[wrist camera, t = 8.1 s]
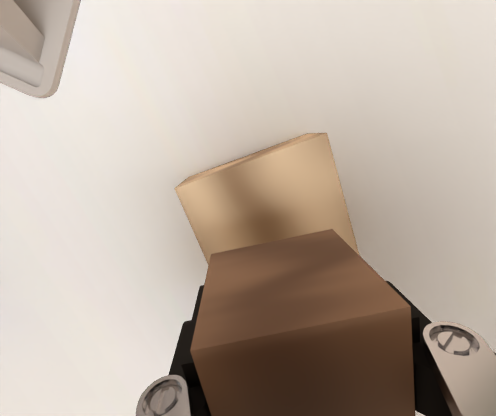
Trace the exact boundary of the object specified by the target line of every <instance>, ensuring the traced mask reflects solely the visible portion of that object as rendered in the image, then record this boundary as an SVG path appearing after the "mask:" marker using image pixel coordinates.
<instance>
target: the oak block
mask: <svg viewBox="0 0 496 416" xmlns="http://www.w3.org/2000/svg"><path fill="white" fill-rule="evenodd" d="M175 190H176V193H177V195H178V197H179V199H180V202H181V204H182V206H183V209H184V211H185V213H186V215H187V218H188V220H189V222H190V224H191V227H192V229H193V231H194V233H195V236H196V238H197V240H198V242H199V245H200V247H201V249H202V252H203V254H204V256H205V258H206V261H207V263H208V265H209V261H210V257H211V254H213V253H218V252H223V251H228V250H233V249H237V248H242V247H247V246H252V245H257V244H262V243H266V242H271V241H276V240H281V239H286V238H290V237H295V236H300V235H305V234H310V233H315V232H319V231H324V230H329V229H333V230H334V231H335V232H336V233H337V234H338V235H339V236H340V237H341V238H342V239H343V240H344V241H345V242H346V243H347V244H348V245H349V246H350V247H351V248H352V249H353V250H354V251H355V252H356V253H357V254H358V255H359V252H358V249H357V245H356V241H355V237H354V233H353V230H352V226H351V222H350V218H349V215H348V211H347V207H346V203H345V200H344V196H343V192H342V188H341V185H340V181H339V177H338V173H337V170H336V166H335V162H334V158H333V154H332V151H331V147H330V143H329V139H328V136H327V133H311V134H305V135H302V136H300V137H297V138H294V139H291V140H289V141H286V142H283V143H281V144H278V145H275V146H272V147H270V148H267V149H264V150H261V151H259V152H256V153H253V154H251V155H248V156H245V157H242V158H240V159H237V160H234V161H231V162H229V163H226V164H223V165H221V166H218V167H215V168H212V169H210V170H207V171H204V172H201V173H199V174H196V175H193V176H190V177H188V178H187V179H186V180H185V181H183V182H182V183H181V184H180V185H178V186H177V187H176V188H175Z"/></svg>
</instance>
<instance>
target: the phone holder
mask: <svg viewBox="0 0 496 416" xmlns="http://www.w3.org/2000/svg"><path fill="white" fill-rule="evenodd" d="M80 1H81V0H0V83H2V84H5V85H7V86H9V87H11V88H14V89H16V90H18V91H20V92H23V93H25V94H27V95H30V96H34V97H40V98H46V97H50V96H52V95H53V94H54V93H55V92H56V91H57V89H58V86H59V83H60V79H61V75H62V71H63V67H64V63H65V59H66V55H67V52H68V48H69V44H70V40H71V36H72V32H73V28H74V24H75V21H76V17H77V13H78V9H79V5H80Z"/></svg>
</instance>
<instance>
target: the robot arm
mask: <svg viewBox="0 0 496 416" xmlns="http://www.w3.org/2000/svg"><path fill="white" fill-rule="evenodd" d="M385 282H386V283H388V284H389V285H390V286H391V287H392V288H393V289H394V290H395V291H396V292H397V293H398V294H399V295H400V296H401V297H402V298H403V299H404V300H405V301H406V302H407V303H408V304H409V305H410V306H411V326H412V349H413V373H414V396H415V410H416V411H417V412H419V413H421V414H423V415H425V416H496V353H494V352H493V351H492V350H491V349H490V347H489V346H488V345H487V343H486V342H485V341H484V339H483V338H482V337H481V336H480V335H479V334H477V333H476V332H474V331H473V330H471V329H470V328H467V327H465V326H463V325H460V324H456V323H453V322H444V321H440V322H433V323H432V322H431V321H430V320H429V319H428V318H426V317H425V316H424V315H423V314H422V313H421V312H420V311H419V310H418V309H417V308H416V307H415V306H414V305H413V304H412V303H411V302H410V301H409V300H408V299H407V298H406V297H405V296H404V295H403V294H402V293H401V292H400V291H399V290H398V289H397V288H395V287H394V286H393V285H392V284H391V283H390V282H389V281H385ZM203 289H204V285H202V286H200V288H199V292H198V296H197V300H196V304H195V309H194V313H193V317H192V320H191V321H186V322H184V323H183V326H182V329H181V333H180V336H179V340H178V343H177V347H176V351H175V354H174V358H173V361H172V365H171V368H170V372H169V375H168V376H164V377H161V378H160V379H158V380H156V381H154V382H153V383H152V384H151V385H150V386H148V387H147V389H146V390H145V391H144V392H143V393H142V395H141V397H140V399H139V401H138V405H137V409H136V416H211V413H210V410H209V407H208V404H207V401H206V398H205V395H204V392H203V388H202V385H201V382H200V379H199V376H198V373H197V370H196V367H195V364H194V361H193V358H192V355H191V352H190V349H191V345H192V340H193V335H194V331H195V326H196V322H197V317H198V312H199V308H200V303H201V298H202V294H203Z"/></svg>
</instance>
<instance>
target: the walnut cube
mask: <svg viewBox="0 0 496 416" xmlns="http://www.w3.org/2000/svg"><path fill="white" fill-rule="evenodd" d="M190 352H191V355H192V358H193V361H194V364H195V367H196V370H197V373H198V376H199V379H200V382H201V385H202V388H203V392H204V395H205V398H206V401H207V404H208V407H209V410H210V413H211V416H415V396H414V373H413V349H412V326H411V306H410V305H409V304H408V303H407V302H406V301H405V300H404V299H403V298H402V297H401V296H400V295H399V294H398V293H397V292H396V291H395V290H394V289H393V288H392V287H391V286H390V285H389V284H388V283H386V282H385V281H384V280H383V279H382V278H381V277H380V276H379V275H378V274H377V273H376V272H375V271H374V270H373V269H372V268H371V267H370V266H369V265H368V264H367V263H366V262H365V261H364V260H363V259H362V258H361V257H360V256H359V255H358V254H357V253H356V252H355V251H354V250H353V249H352V248H351V247H350V246H349V245H348V244H347V243H346V242H345V241H344V240H343V239H342V238H341V237H340V236H339V235H338V234H337V233H336V232H335V231H334V230H333V229H329V230H324V231H319V232H315V233H310V234H305V235H300V236H295V237H290V238H286V239H281V240H276V241H271V242H266V243H262V244H257V245H252V246H247V247H242V248H237V249H233V250H228V251H223V252H218V253H213V254H211V257H210V261H209V266H208V271H207V275H206V280H205V284H204V289H203V294H202V298H201V303H200V308H199V312H198V317H197V322H196V326H195V331H194V335H193V340H192V345H191V349H190Z"/></svg>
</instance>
